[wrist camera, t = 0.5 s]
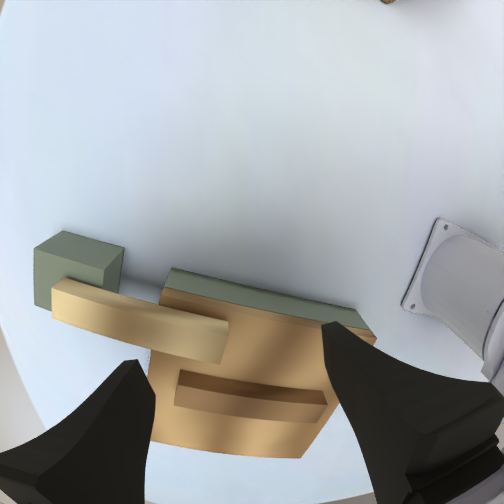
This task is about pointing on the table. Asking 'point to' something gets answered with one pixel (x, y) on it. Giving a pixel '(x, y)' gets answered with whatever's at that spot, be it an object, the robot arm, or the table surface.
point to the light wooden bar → (139, 321)
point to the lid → (245, 384)
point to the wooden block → (389, 1)
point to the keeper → (75, 265)
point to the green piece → (262, 299)
